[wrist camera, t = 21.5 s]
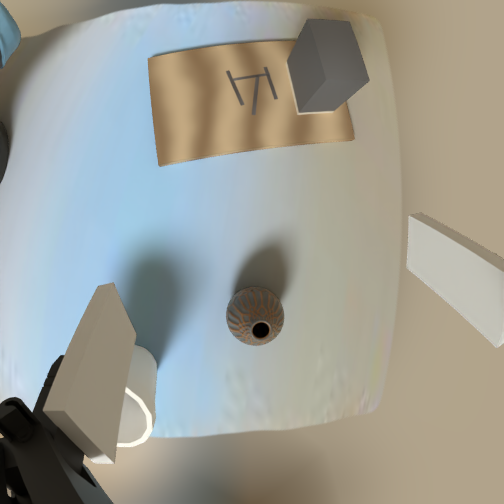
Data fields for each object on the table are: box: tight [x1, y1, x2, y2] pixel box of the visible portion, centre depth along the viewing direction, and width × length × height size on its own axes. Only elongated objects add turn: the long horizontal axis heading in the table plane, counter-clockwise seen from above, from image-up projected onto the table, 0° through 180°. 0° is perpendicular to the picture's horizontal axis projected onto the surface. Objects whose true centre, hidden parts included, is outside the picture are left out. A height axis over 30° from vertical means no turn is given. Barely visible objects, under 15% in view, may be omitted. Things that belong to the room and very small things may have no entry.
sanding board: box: [148, 41, 355, 167], centre depth 37 cm, size 26×16×1 cm, turn 100°
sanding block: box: [286, 19, 370, 115], centre depth 31 cm, size 8×5×11 cm, turn 10°
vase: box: [226, 287, 284, 346], centre depth 36 cm, size 7×7×9 cm
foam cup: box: [117, 345, 157, 447], centre depth 33 cm, size 10×9×13 cm
